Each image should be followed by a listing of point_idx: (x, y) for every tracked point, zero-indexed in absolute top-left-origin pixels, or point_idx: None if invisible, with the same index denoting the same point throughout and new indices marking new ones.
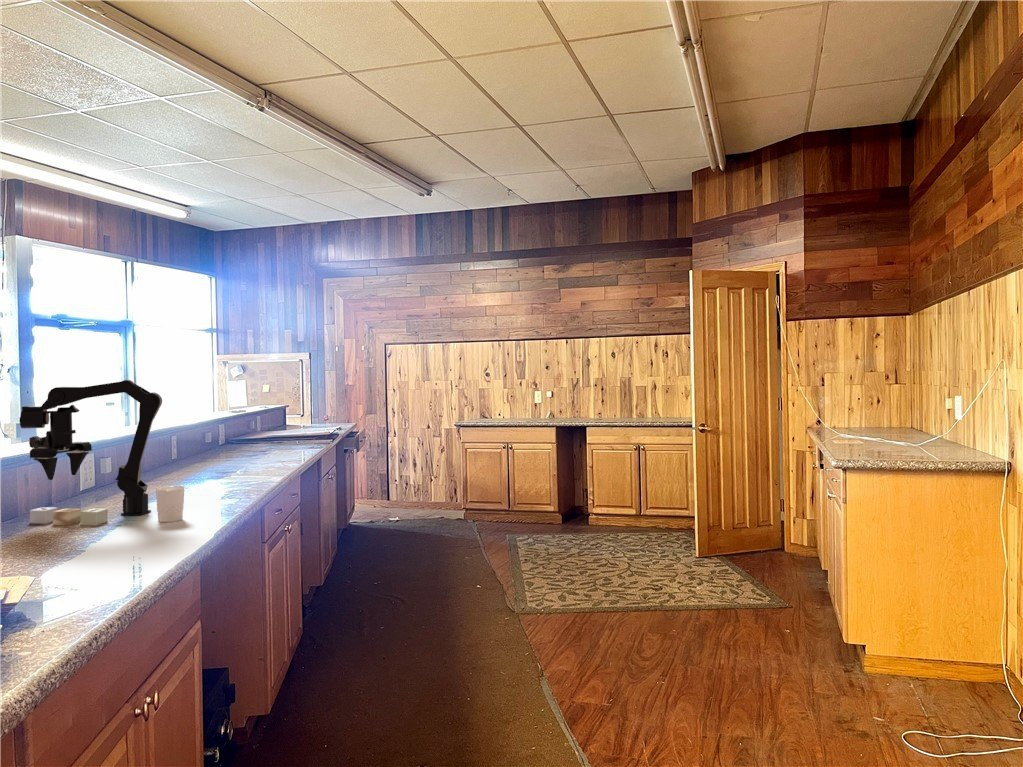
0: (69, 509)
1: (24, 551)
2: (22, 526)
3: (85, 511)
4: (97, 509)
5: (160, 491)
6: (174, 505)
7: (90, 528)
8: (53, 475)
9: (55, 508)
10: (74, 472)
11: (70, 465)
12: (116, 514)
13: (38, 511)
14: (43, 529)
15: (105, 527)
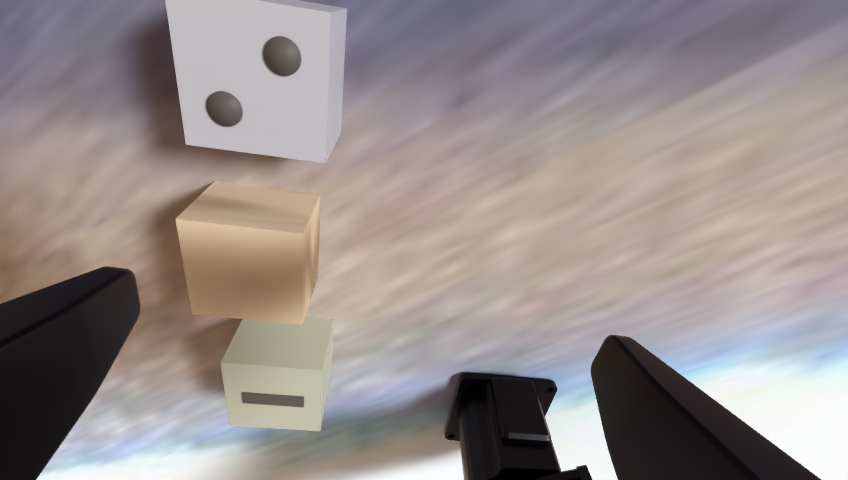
0: (270, 277)
1: None
2: (101, 5)
3: (234, 378)
4: (291, 406)
5: None
6: None
7: (186, 379)
8: (84, 387)
9: (300, 158)
10: (603, 401)
11: (736, 465)
12: (491, 346)
13: (181, 78)
14: (87, 201)
15: (219, 415)
